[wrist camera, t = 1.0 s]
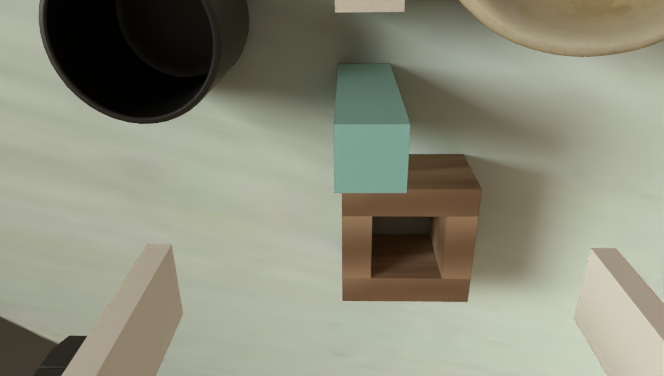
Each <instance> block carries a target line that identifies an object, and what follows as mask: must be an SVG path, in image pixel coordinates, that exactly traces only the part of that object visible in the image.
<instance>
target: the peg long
mask: <svg viewBox="0 0 664 376" xmlns="http://www.w3.org/2000/svg"><path fill="white" fill-rule="evenodd" d="M410 125H411V124H410V121H409V118H408V115H407V112H406V109H405V106H404V103H403V100H402V98H401V95H400V92H399V89H398V86H397V83H396V80H395V77H394V74H393V71H392V68H391V65H390V64H338V74H337V87H336V101H335V114H334V191H335V193H407V178H408V160H409V143H410Z"/></svg>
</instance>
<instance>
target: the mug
mask: <svg viewBox="0 0 664 376" xmlns="http://www.w3.org/2000/svg"><path fill="white" fill-rule="evenodd" d="M39 25H40V33H41V37H42V41H43V45H44V48H45V50H46V53H47V55H48V57H49V60H50V62H51V64H52V65H53V67H54V69H55V70H56V72H57V74H58V75H59V77H60V78H61V79H62V80H63V82H64V83H65V84H66V86H67V87H68V88H69V89H70V90H71V91H72V92H73V93H74V94H75V95H76V96H77V97H79V98H80V99H81V100H82V101H84V102H85V103H86V104H88V105H89V106H90V107H92V108H94V109H96V110H97V111H99V112H101V113H103V114H105V115H107V116H110V117H112V118H115V119H118V120H122V121H126V122H131V123H139V124H150V123H159V122H165V121H169V120H171V119H174V118H177V117H179V116H181V115H183V114H185V113H186V112H188V111H190V110H191V109H192V108H193V107H195V106H196V105H197V104H198V103H199V102H200V101H201V100H202V99H203V98H204V97H205V96H206V95H207V94H208V92H209V91H210V90H211V89H212V88H213V87H214V86H215V85H216V84H217V82H218V81H219V80H220V79H221V78H222V77H223V76H224V75H225V74H226V72H227V71H228V70H229V69H230V68H231V67H232V66H233V65H234V63H235V62H236V61H237V60H238V58H239V56H240V54H241V53H242V51H243V48H244V46H245V43H246V39H247V35H248V27H249V15H248V7H247V3H246V0H40V3H39Z"/></svg>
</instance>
